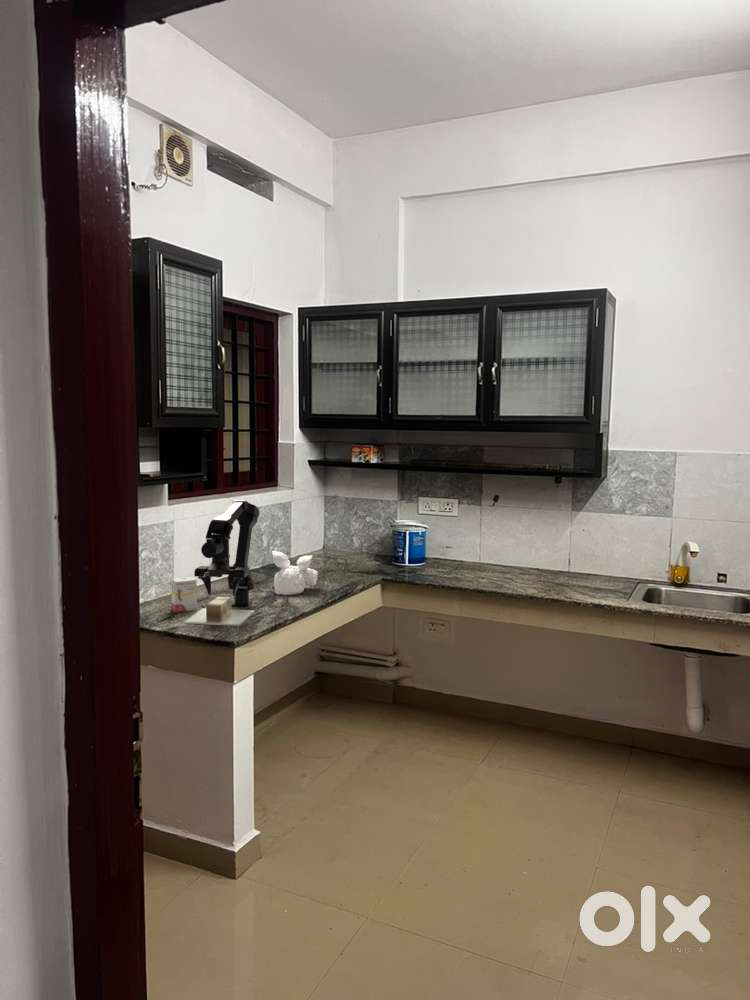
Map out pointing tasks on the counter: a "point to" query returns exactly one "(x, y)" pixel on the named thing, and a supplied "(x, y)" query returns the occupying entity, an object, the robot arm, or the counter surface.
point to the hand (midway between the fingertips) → (221, 595)
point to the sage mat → (232, 619)
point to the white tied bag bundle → (292, 574)
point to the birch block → (218, 609)
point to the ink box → (184, 594)
